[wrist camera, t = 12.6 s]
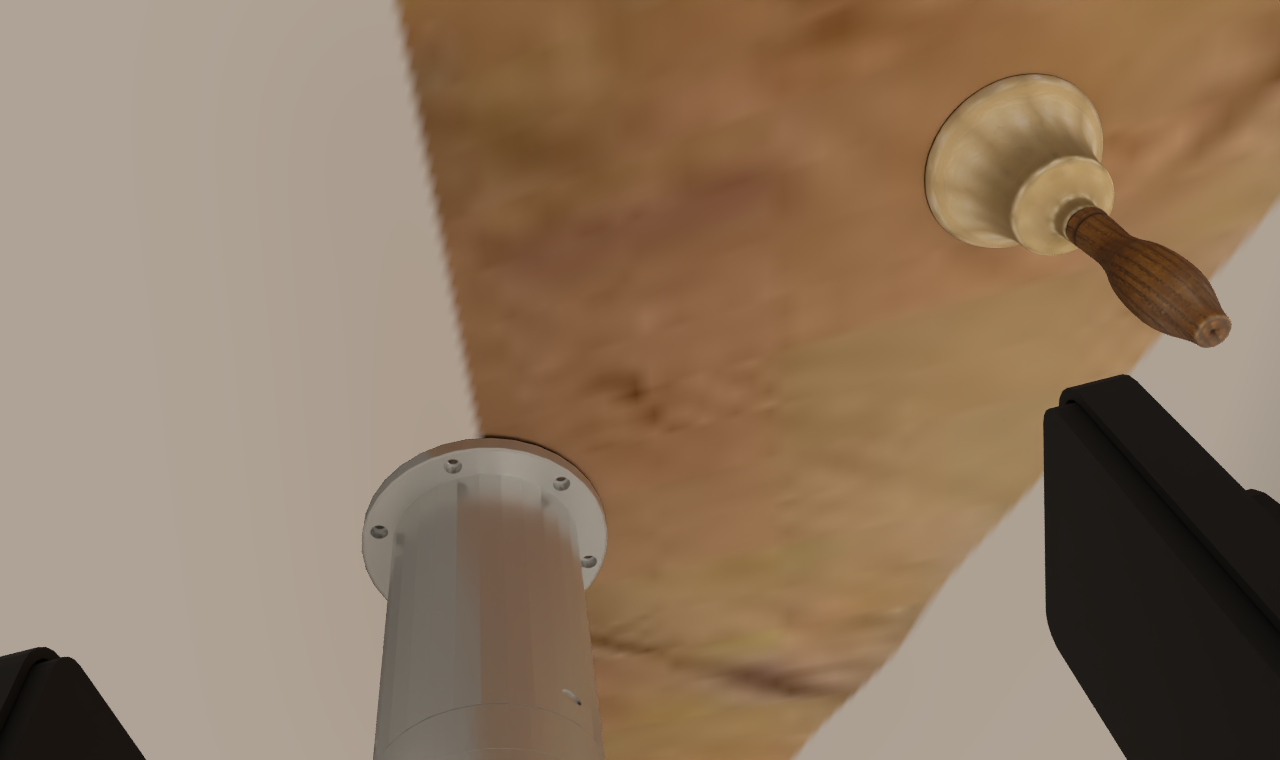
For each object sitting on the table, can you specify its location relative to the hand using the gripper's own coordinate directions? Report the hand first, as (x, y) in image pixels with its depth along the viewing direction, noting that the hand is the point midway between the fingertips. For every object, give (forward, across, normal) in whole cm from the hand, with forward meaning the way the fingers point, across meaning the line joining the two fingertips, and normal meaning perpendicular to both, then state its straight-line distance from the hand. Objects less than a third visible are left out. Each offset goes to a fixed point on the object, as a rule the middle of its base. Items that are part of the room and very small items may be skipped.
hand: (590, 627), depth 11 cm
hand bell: (+38, -20, +15) cm, 45 cm away
